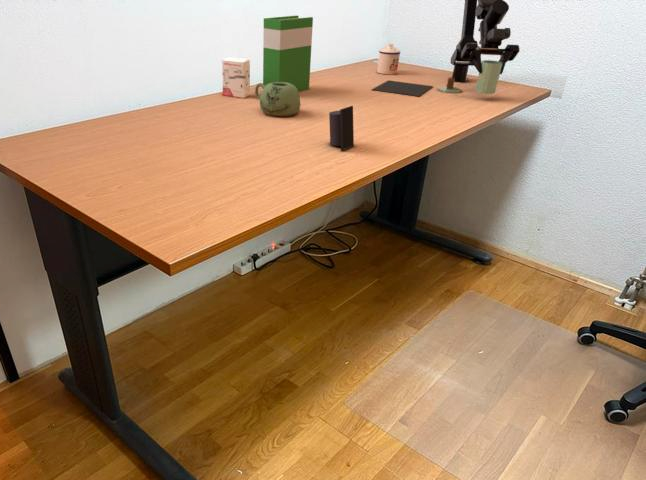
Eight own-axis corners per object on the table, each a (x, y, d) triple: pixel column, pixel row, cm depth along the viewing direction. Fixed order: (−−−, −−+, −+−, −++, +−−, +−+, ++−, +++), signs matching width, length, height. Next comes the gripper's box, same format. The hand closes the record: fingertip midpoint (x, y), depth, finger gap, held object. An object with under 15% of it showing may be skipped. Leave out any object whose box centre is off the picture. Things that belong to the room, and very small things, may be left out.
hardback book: (293, 85, 192) (296, 15, 179) (309, 88, 188) (313, 17, 175) (263, 92, 180) (263, 18, 167) (278, 96, 176) (280, 20, 164)
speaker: (360, 147, 130) (360, 106, 125) (342, 151, 128) (341, 109, 123) (342, 141, 136) (342, 102, 131) (325, 145, 134) (324, 105, 129)
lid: (440, 86, 198) (442, 75, 196) (462, 89, 195) (465, 77, 192) (435, 90, 191) (437, 78, 189) (458, 94, 188) (460, 81, 186)
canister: (477, 88, 185) (483, 59, 179) (496, 91, 182) (504, 61, 176) (473, 92, 179) (480, 62, 174) (493, 94, 177) (501, 64, 171)
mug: (307, 111, 160) (309, 83, 155) (285, 120, 151) (286, 90, 146) (266, 103, 167) (267, 76, 162) (243, 111, 158) (243, 82, 153)
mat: (388, 81, 204) (388, 80, 204) (432, 87, 197) (432, 86, 197) (371, 90, 189) (372, 89, 189) (418, 96, 182) (419, 96, 182)
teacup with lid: (392, 75, 214) (396, 46, 207) (372, 72, 218) (376, 43, 212) (403, 71, 222) (407, 43, 216) (384, 69, 226) (388, 41, 220)
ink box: (221, 95, 175) (220, 59, 169) (228, 92, 179) (227, 56, 173) (244, 98, 172) (243, 61, 166) (250, 95, 176) (250, 59, 170)
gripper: (471, 17, 171) (473, 57, 168) (525, 19, 171) (528, 59, 168) (459, 39, 182) (461, 77, 179) (511, 40, 182) (513, 79, 179)
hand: (491, 73), depth 176 cm, fingers closed on canister, 7 cm apart
